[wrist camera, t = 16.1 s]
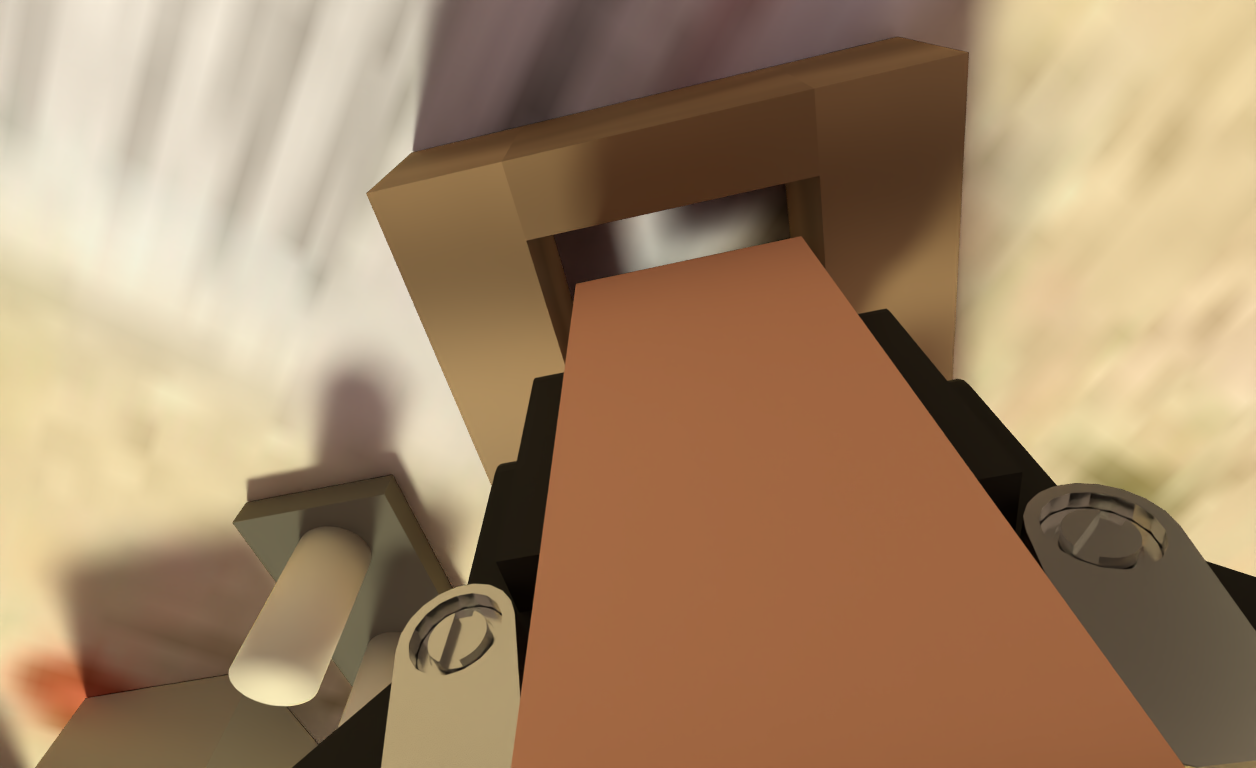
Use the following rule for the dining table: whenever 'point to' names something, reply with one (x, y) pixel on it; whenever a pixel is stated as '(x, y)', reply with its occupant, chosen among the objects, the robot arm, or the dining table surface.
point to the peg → (786, 553)
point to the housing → (180, 730)
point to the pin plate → (387, 535)
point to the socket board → (677, 176)
